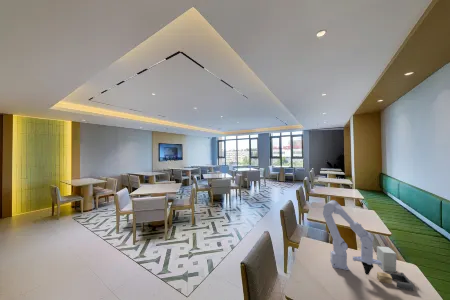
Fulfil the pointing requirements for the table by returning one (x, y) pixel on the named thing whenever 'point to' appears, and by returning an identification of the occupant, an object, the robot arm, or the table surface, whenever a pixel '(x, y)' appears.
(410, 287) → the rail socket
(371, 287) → the table surface
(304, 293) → the table surface
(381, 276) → the tan block
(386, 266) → the supplement box
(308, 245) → the table surface
